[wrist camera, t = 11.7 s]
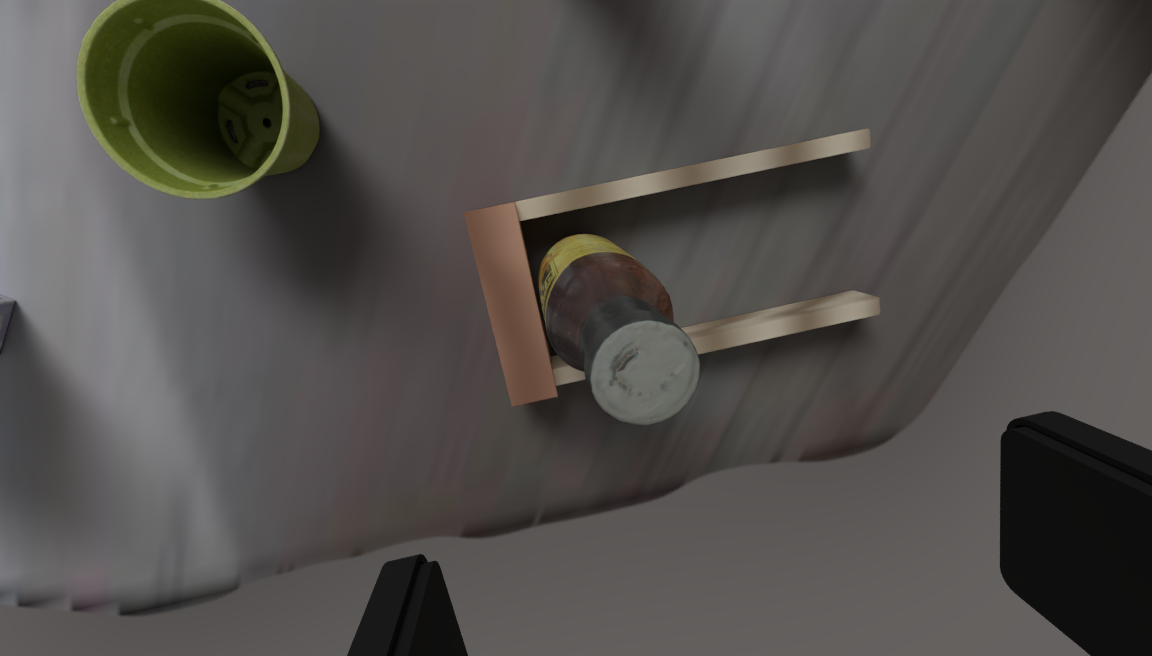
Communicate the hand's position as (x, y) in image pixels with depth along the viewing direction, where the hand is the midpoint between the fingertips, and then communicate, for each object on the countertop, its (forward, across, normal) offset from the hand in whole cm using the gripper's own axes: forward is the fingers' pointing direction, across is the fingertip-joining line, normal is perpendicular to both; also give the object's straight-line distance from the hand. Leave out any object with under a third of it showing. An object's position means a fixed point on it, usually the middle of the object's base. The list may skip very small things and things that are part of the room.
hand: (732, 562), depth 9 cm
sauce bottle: (+30, 0, 0) cm, 30 cm away
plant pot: (+30, +17, -14) cm, 37 cm away
